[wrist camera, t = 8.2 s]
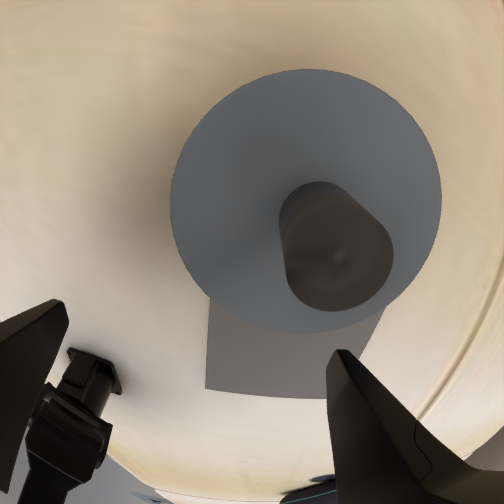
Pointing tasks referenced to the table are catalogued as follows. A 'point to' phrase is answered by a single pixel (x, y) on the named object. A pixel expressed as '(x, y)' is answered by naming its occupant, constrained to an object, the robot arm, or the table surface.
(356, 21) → the table surface
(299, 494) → the portable speaker
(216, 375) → the mat
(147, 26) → the table surface
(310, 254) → the lid
